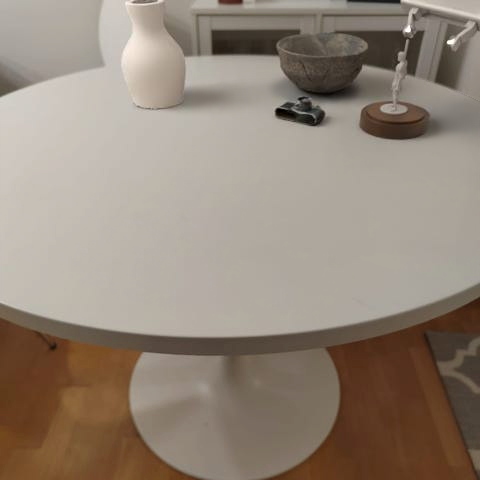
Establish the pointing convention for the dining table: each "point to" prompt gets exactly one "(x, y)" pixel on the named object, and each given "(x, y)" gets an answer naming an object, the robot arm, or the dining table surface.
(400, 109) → the figurine
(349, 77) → the bowl
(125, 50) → the vase
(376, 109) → the stand
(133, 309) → the dining table surface
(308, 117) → the camera
